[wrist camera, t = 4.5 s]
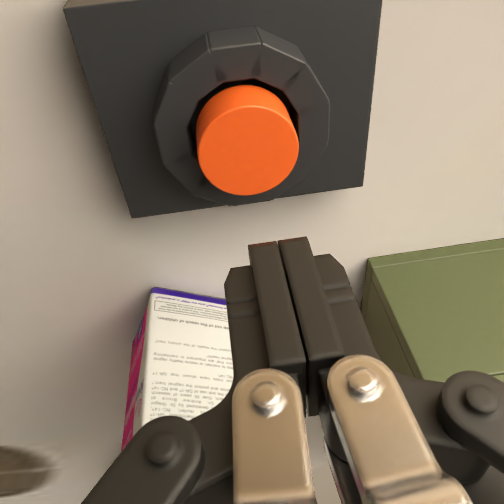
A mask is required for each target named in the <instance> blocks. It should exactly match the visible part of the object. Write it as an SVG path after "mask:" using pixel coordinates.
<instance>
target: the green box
mask: <svg viewBox="0 0 504 504" xmlns="http://www.w3.org/2000/svg"><path fill="white" fill-rule="evenodd" d="M361 314H362V317H363V319H364V322H365V324H366V327H367V330H368V332H369V335H370V337H371V340H372V343H373V345H374V348H375V350H376V352H377V354H378V356H379V357H380V358H381V360H382V361H383V362H384V363H385V364H386V365H388V366H389V367H390V368H391V369H393V370H395V371H396V372H398V373H400V374H403V375H406V376H408V377H413V378H419V379H425V380H432V381H439V382H445V381H446V380H447V379H448V378H449V377H450V376H452V375H453V374H455V373H458V372H461V371H470V370H471V371H479V372H483V373H486V374H489V375H491V376H496V375H502V374H504V238H502V239H496V240H489V241H482V242H475V243H468V244H462V245H455V246H448V247H441V248H434V249H427V250H421V251H414V252H407V253H400V254H393V255H387V256H380V257H373V258H368V263H367V270H366V278H365V285H364V293H363V301H362V308H361Z"/></svg>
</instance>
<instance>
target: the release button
mask: <svg viewBox="0 0 504 504" xmlns="http://www.w3.org/2000/svg"><path fill="white" fill-rule="evenodd" d="M196 141H197V154H198V161H199V165H200V168H201V170H202V172H203V174H204V175H205V177H206V178H207V179H208V180H209V181H210V182H211V183H212V184H213V185H214V186H216V187H217V188H219V189H221V190H222V191H225V192H227V193H230V194H234V195H255V194H260V193H263V192H266V191H268V190H270V189H272V188H274V187H276V186H277V185H279V184H280V183H281V182H282V181H283V180H284V179H285V178H286V177H287V176H288V175H289V174H290V172H291V171H292V169H293V167H294V165H295V163H296V160H297V157H298V152H299V142H298V137H297V134H296V131H295V129H294V126H293V124H292V121H291V119H290V116H289V114H288V112H287V109H286V107H285V106H284V104H283V103H282V101H281V100H280V99H279V98H278V97H277V96H276V95H274V94H273V93H272V92H270V91H268V90H266V89H264V88H261V87H258V86H253V85H238V86H233V87H230V88H227V89H225V90H223V91H220V92H219V93H217V94H216V95H214V96H213V97H212V98H211V99H210V100H209V101H208V102H207V103H206V104H205V106H204V107H203V108H202V110H201V112H200V114H199V117H198V120H197V124H196Z"/></svg>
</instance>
